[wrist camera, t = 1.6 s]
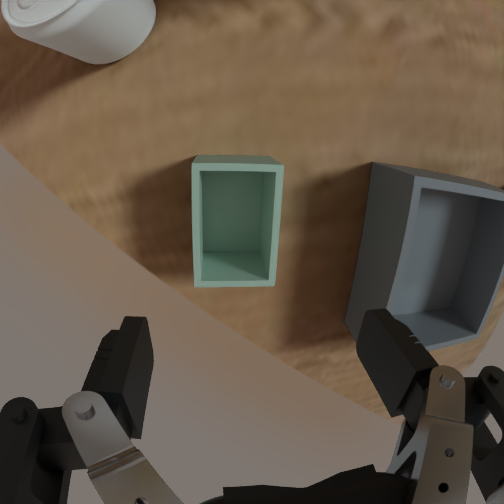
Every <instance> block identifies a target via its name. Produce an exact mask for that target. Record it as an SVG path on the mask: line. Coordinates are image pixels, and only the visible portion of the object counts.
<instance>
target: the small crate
mask: <svg viewBox="0 0 504 504" xmlns="http://www.w3.org/2000/svg"><path fill="white" fill-rule="evenodd" d="M283 173H284V165H283V164H281V163H280V162H278V161H276V160H275V159H273V158H271V157H270V156H247V155H197V156H196V158H195V159H194V161H193V162H192V237H193V266H194V287H255V286H275V278H276V266H277V254H278V242H279V229H280V216H281V202H282V188H283Z"/></svg>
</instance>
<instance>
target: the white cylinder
mask: <svg viewBox="0 0 504 504" xmlns="http://www.w3.org/2000/svg"><path fill="white" fill-rule="evenodd" d="M1 10H2V14H3V17H4V19H5V20H6V21H7V23H8V25H9V27H10V29H11V30H12V31H13V32H14V33H15V34H16V35H17V36H19V37H21V38H23V39H26V40H29V41H31V42H34V43H37V44H40V45H43V46H46V47H48V48H51V49H54V50H56V51H59V52H62V53H64V54H67V55H69V56H72V57H74V58H77V59H79V60H82V61H84V62H87V63H91V64H107V63H111V62H114V61H117V60H119V59H122V58H124V57H125V56H127V55H129V54H130V53H132V52H133V51H134V50H135V49H137V48H138V47H139V46H140V45H141V44H142V43H143V42H144V40H145V39H146V38H147V36H148V35H149V33H150V31H151V29H152V27H153V25H154V22H155V17H156V7H155V3H154V1H153V0H2V1H1Z"/></svg>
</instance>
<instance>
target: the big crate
mask: <svg viewBox="0 0 504 504" xmlns="http://www.w3.org/2000/svg"><path fill="white" fill-rule="evenodd" d="M503 275H504V190H503V189H500V188H498V187H495V186H492V185H490V184H487V183H484V182H481V181H477V180H472V179H468V178H463V177H459V176H454V175H449V174H444V173H439V172H434V171H428V170H422V169H417V168H411V167H404V166H398V165H391V164H384V163H377V162H372V167H371V176H370V184H369V192H368V199H367V206H366V213H365V220H364V226H363V232H362V238H361V243H360V249H359V254H358V260H357V265H356V270H355V275H354V280H353V284H352V289H351V294H350V298H349V303H348V307H347V311H346V315H345V320H344V323H345V324H346V326H347V328H348V329H349V331H350V333H351V334H352V336H353V338H354V339H355V341H356V343H357V339H358V336H359V332H360V329H361V325H362V321H363V318H364V314H365V312H366V311H367V310H372V309H382V308H386V309H387V310H388V311H389V312H390V313H391V314H392V316H393V317H394V318H395V319H396V320H399V321H400V322H402V323H403V324H405V325H406V326H408V327H409V329H410V330H411V331H412V332H413V333H414V336H416V337H417V338H418V340H419V341H420V343H422V345H423V346H424V347H425V348H426V349H427V351H431V350H435V349H439V348H443V347H447V346H451V345H455V344H459V343H462V342H466V341H470V340H473V339H476V338H478V336H479V334H480V332H481V330H482V328H483V326H484V323H485V321H486V319H487V317H488V314H489V312H490V309H491V307H492V305H493V302H494V299H495V297H496V294H497V292H498V289H499V286H500V284H501V281H502V278H503Z"/></svg>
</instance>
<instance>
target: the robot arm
mask: <svg viewBox="0 0 504 504" xmlns="http://www.w3.org/2000/svg"><path fill="white" fill-rule="evenodd" d="M356 350H357V355H358V357H359V359H360V361H361V363H362V364H363V366H364V368H365V370H366V371H367V373H368V375H369V377H370V379H371V381H372V382H373V384H374V386H375V388H376V390H377V391H378V393H379V395H380V397H381V399H382V401H383V403H384V404H385V406H386V408H387V410H388V412H389V414H390V416H391V418H392V417H395V416H399V415H402V414H403V415H404V417H405V419H404V421H403V422H402V425H401V429H400V433H399V437H398V440H397V444H396V447H395V451H394V454H393V457H392V460H391V463H390V465H389V467H388V469H387V470H386V472H376V471H375V468H374V465H373V464H371V465H367V466H364V467H360V468H357V469H352V470H348V471H344V472H340V473H338V474H336V475H334V476H331V477H329V478H327V479H325V480H323V481H321V482H318V483H316V484H314V485H311V486H309V487H305V488H293V487H280V486H268V485H255V486H240V487H223V493H224V495H223V496H220V497H215V498H213V499H210V500H207V501H205V502H203V503H200V504H466V498H467V492H468V486H469V478H470V470H471V471H472V473H473V475H474V478H475V479H476V482H477V484H478V486H479V488H480V490H481V492H482V494H483V497H484V499H485V501H486V504H504V372H503V371H502V370H501V369H500V368H498V367H495V366H486V367H484V368H483V369H482V370H481V372H480V374H479V375H478V377H463V376H462V374H461V373H460V372H459V371H458V370H456V369H455V368H452V367H450V366H445V365H441V366H439V365H438V363H437V362H436V361H435V360H434V358H433V357H432V356H431V355H430V353H429V352H428V351H427V349H426V348H425V347H424V346H423V345H422V343H420V341H419V340H418V338H417V337H416V336H414V333H413V332H412V331H411V330H410V329H409V327H408V326H406V325H405V324H403V323H402V322H400V321H399V320H396V319H395V318H394V317H393V316H392V314H391V313H390V312H389V311H388V310H387V309H386V308H382V309H372V310H367V311H366V312H365V314H364V318H363V321H362V325H361V329H360V332H359V336H358V339H357V344H356ZM153 359H154V358H153V348H152V343H151V338H150V332H149V327H148V321H147V318H146V317H132V316H125V317H124V319H123V322H122V324H121V327H120V330H111V331H110V332H109V333H108V334H107V335H106V336H104V337H103V338H102V340H101V343H100V345H99V347H98V351H97V352H96V355H95V357H94V360H93V362H92V364H91V367H90V369H89V372H88V375H87V377H86V380H85V382H84V385H83V387H82V390H81V392H78V393H75V394H73V395H71V396H70V397H69V398H68V399H67V400H66V401H65V402H64V404H63V406H61V407H54V408H44V409H38V408H37V406H36V405H35V403H34V402H33V401H32V400H30V399H28V398H25V397H18V398H14V399H12V400H10V401H8V402H7V403H6V404H5V405H4V406H3V408H2V410H1V412H0V504H67V498H68V491H69V484H70V478H71V471H72V470H77V469H88V472H87V473H88V476H89V478H90V480H91V481H92V484H93V485H94V487H95V489H96V490H97V492H98V494H99V495H100V497H101V499H102V500H103V502H104V504H183V503H182V501H181V500H180V499H179V498H178V497H177V496H176V495H175V493H174V492H173V491H172V490H171V489H170V488H169V486H168V485H167V484H166V483H165V482H164V480H163V479H162V478H161V477H160V476H159V474H158V473H157V472H156V471H155V469H154V468H153V467H152V465H151V464H150V463H149V461H148V460H147V459H146V458H145V456H144V455H143V454H142V452H141V451H140V450H137V449H136V447H135V446H134V445H133V443H132V442H131V438H135V439H141V435H142V428H143V421H144V415H145V409H146V403H147V397H148V392H149V386H150V381H151V375H152V370H153V362H154V360H153ZM490 413H491V414H492V415H493V417H494V418H495V420H496V421H497V423H498V425H499V426H500V428H501V430H502V439H501V441H500V443H499V444H497V442H496V440H495V439H494V437H493V435H492V434H491V432H490V430H489V429H488V427H487V426H486V424H485V422H484V420H485V419H486V418H487V417H488V415H489V414H490Z"/></svg>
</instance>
